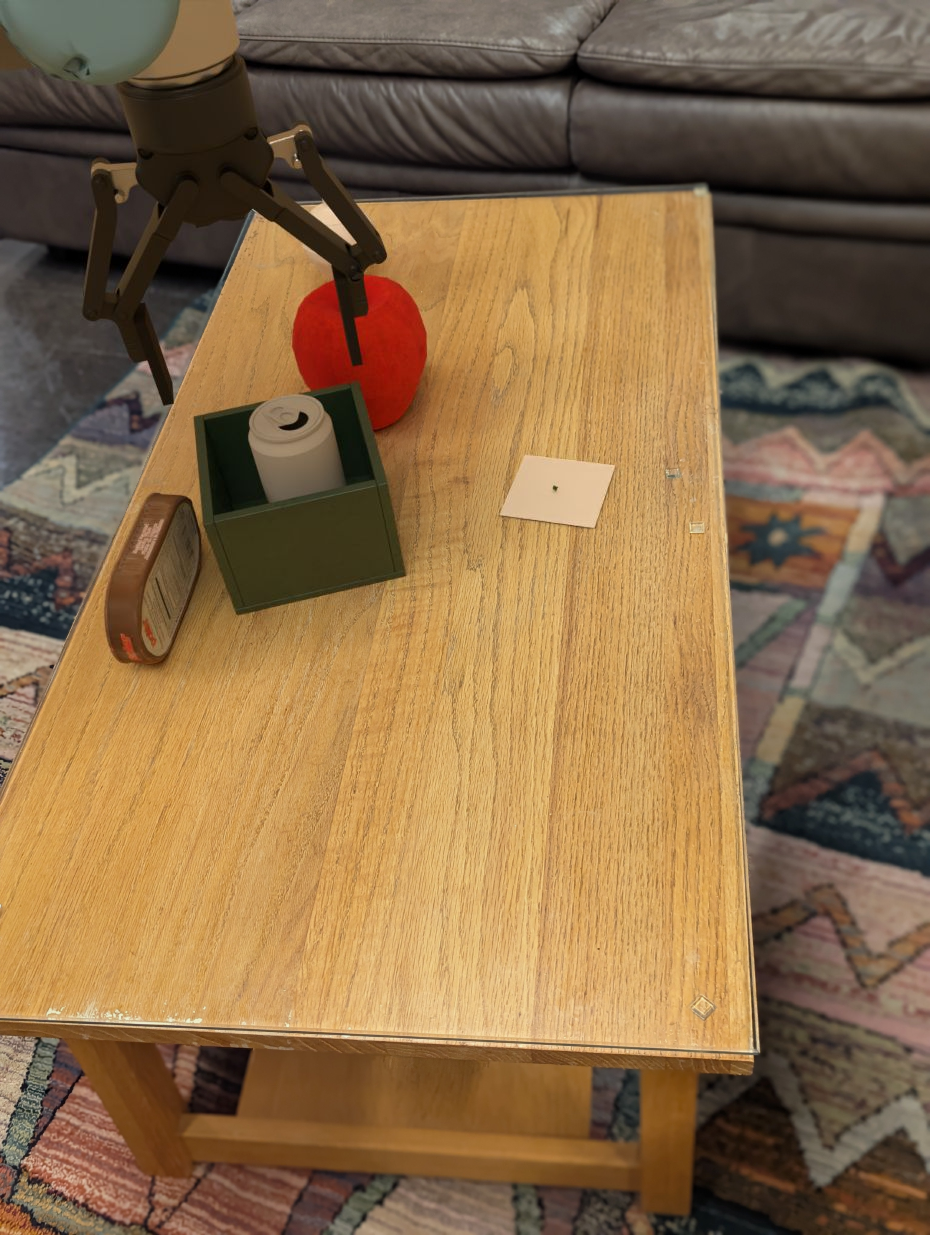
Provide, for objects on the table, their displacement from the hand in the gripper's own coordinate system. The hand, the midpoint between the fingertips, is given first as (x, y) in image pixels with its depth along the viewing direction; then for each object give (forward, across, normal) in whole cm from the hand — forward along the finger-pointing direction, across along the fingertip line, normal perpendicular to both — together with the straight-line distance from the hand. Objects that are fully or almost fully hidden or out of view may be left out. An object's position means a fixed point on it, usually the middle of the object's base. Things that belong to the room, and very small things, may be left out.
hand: (262, 375), depth 77 cm
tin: (+17, +11, +5) cm, 21 cm away
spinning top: (+16, -9, -36) cm, 41 cm away
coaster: (+16, -21, +1) cm, 27 cm away
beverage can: (+16, -1, 0) cm, 16 cm away
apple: (+16, -8, -15) cm, 24 cm away
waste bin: (+16, 0, 0) cm, 16 cm away
